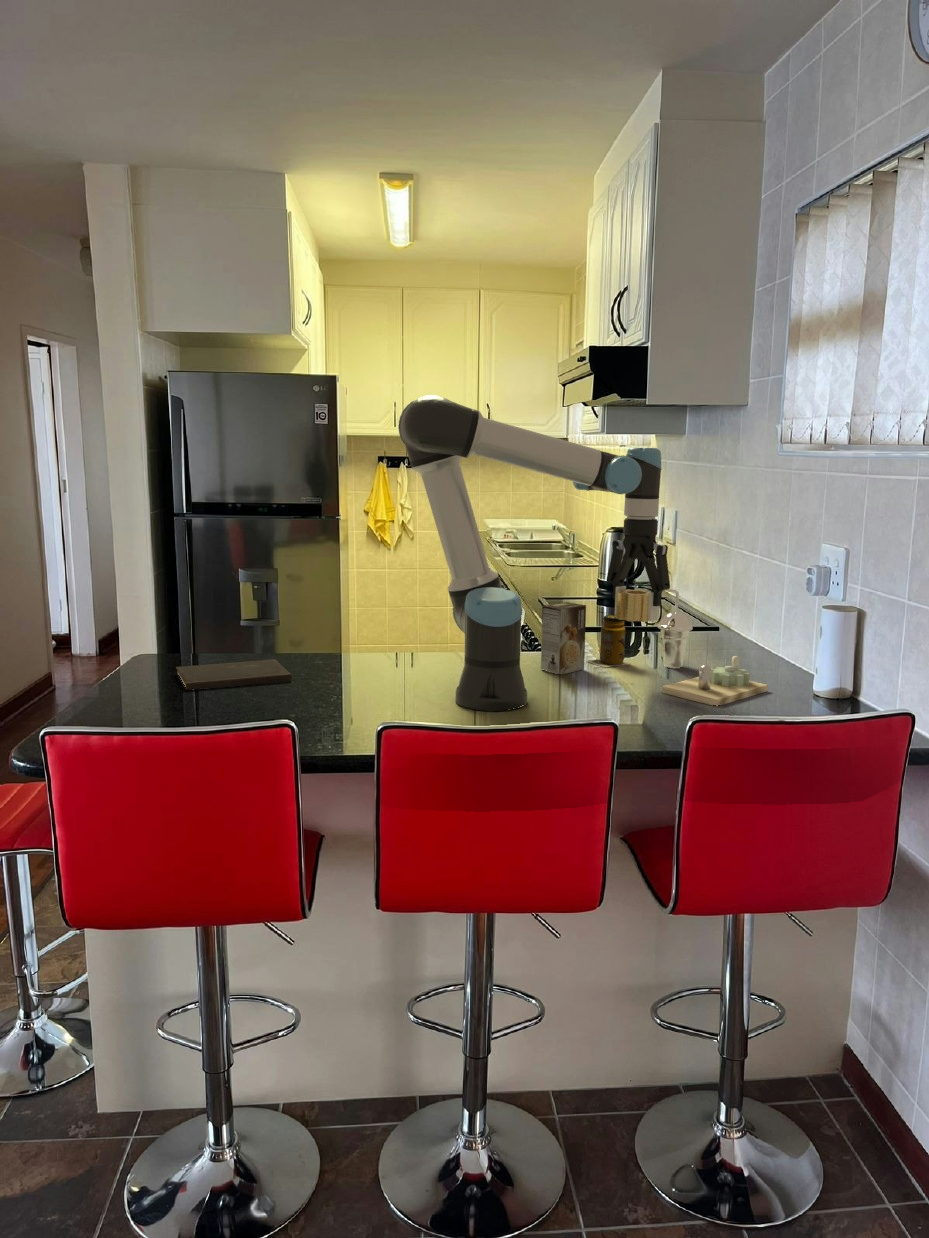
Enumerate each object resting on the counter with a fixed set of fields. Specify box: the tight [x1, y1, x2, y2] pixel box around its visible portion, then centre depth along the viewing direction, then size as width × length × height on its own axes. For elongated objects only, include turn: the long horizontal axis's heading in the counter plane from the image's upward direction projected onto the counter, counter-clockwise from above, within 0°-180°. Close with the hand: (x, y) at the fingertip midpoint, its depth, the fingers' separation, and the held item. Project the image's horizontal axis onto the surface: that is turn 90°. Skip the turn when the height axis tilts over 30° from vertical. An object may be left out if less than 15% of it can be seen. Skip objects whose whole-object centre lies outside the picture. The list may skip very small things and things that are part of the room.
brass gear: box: [616, 588, 651, 623], centre depth 205 cm, size 9×9×6 cm
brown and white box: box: [540, 601, 587, 675], centre depth 217 cm, size 9×6×16 cm
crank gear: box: [710, 655, 751, 687], centre depth 204 cm, size 9×9×6 cm
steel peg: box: [698, 664, 712, 690], centre depth 197 cm, size 3×3×5 cm
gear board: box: [661, 676, 769, 707], centre depth 201 cm, size 20×14×2 cm
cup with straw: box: [657, 588, 693, 669], centre depth 223 cm, size 8×9×20 cm
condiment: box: [586, 614, 631, 668], centre depth 226 cm, size 7×8×12 cm
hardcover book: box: [175, 658, 292, 691], centre depth 206 cm, size 16×23×2 cm
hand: (635, 617), depth 205 cm, fingers closed on brass gear, 9 cm apart
